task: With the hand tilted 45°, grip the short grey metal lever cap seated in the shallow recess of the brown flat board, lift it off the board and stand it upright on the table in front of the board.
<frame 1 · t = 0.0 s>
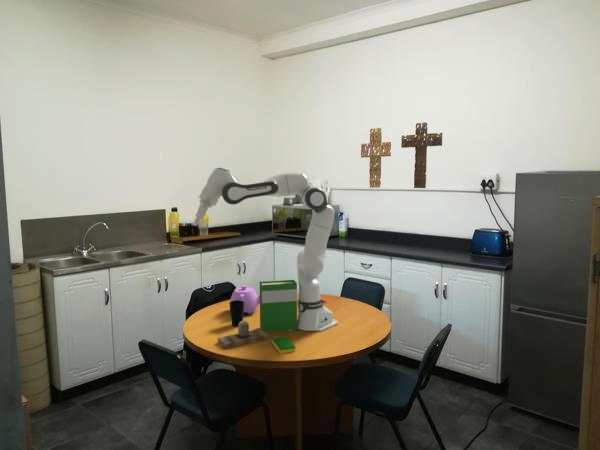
hand: (195, 224, 221), 54 cm above the table, tool tilted 30°, fingers open, 8 cm apart
lever cap: (243, 337, 217), point 1 cm above the table, touching brown flat board
teapot: (247, 312, 259), on the table
hardback book: (278, 328, 234), on the table
cup: (237, 325, 239), on the table
dish sponge: (283, 347, 211), on the table
brown flat board: (243, 340, 217), on the table
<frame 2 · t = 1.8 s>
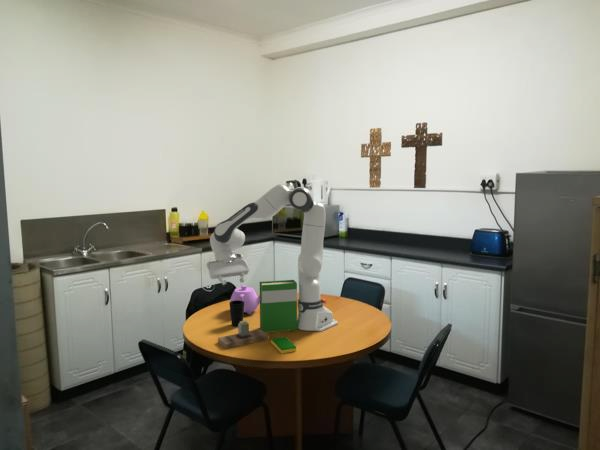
hand: (233, 283, 224), 25 cm above the table, tool tilted 45°, fingers open, 8 cm apart
nothing on the table moved.
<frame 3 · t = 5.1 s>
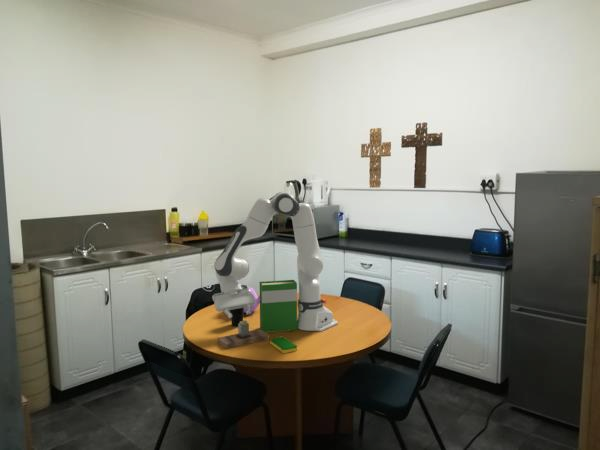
hand: (239, 315, 221), 11 cm above the table, tool tilted 45°, fingers open, 8 cm apart
nothing on the table moved.
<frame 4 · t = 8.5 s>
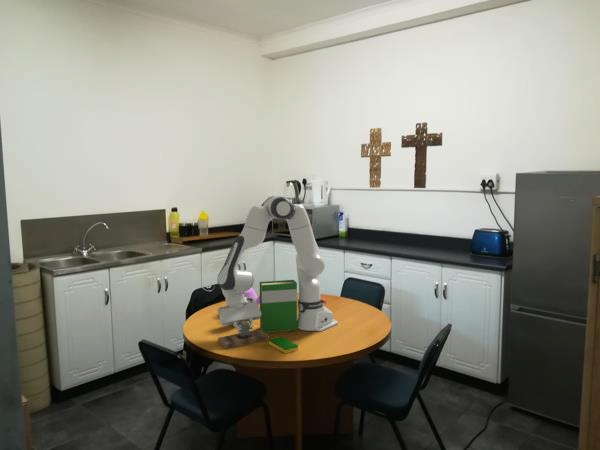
hand: (245, 329, 216), 6 cm above the table, tool tilted 45°, fingers open, 4 cm apart
lever cap: (243, 337, 217), point 2 cm above the table, touching gripper, brown flat board
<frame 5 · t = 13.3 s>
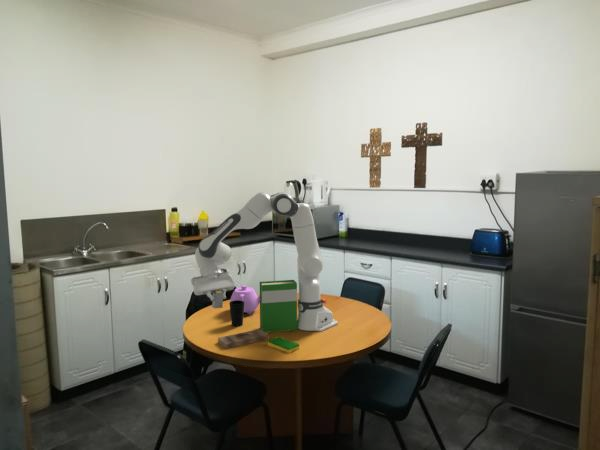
hand: (218, 299, 219), 19 cm above the table, tool tilted 45°, fingers closed on lever cap, 4 cm apart
lever cap: (217, 307, 220), point 15 cm above the table, touching gripper
when the fingers open (5 cm above the table, at t = 17.2 s): lever cap drops 1 cm, on the table.
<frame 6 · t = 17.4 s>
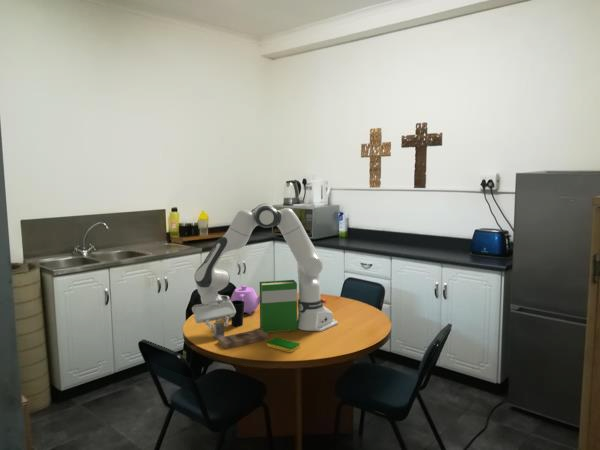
hand: (219, 327, 220), 5 cm above the table, tool tilted 45°, fingers open, 6 cm apart
lever cap: (219, 337, 222), on the table
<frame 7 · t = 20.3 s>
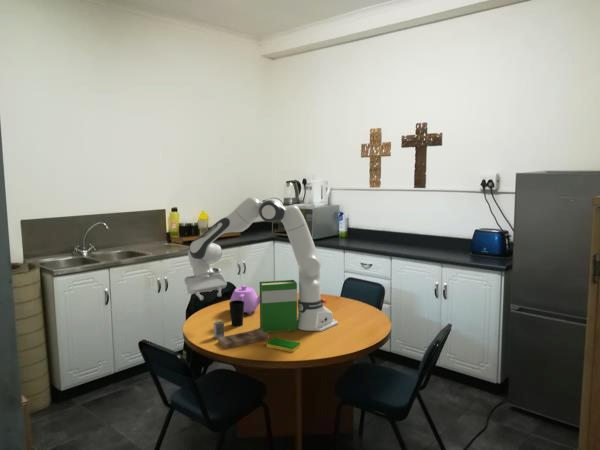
hand: (211, 297, 230), 17 cm above the table, tool tilted 45°, fingers open, 8 cm apart
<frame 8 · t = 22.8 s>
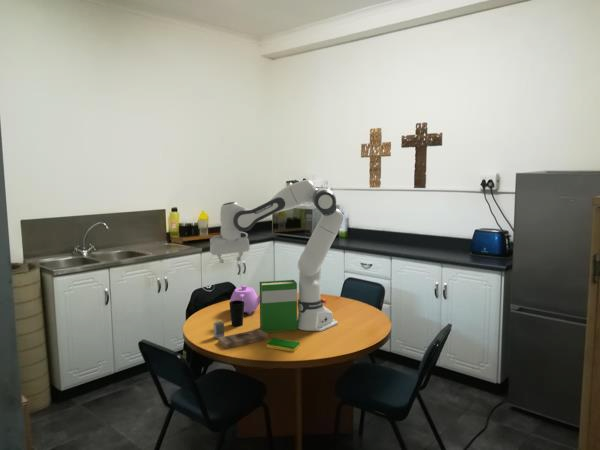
hand: (230, 261, 232), 34 cm above the table, tool pointing down, fingers open, 8 cm apart
at the end: lever cap inside the target area (0.6 cm from its centre), on the table; lever cap tilted 0°; lever cap touching table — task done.
